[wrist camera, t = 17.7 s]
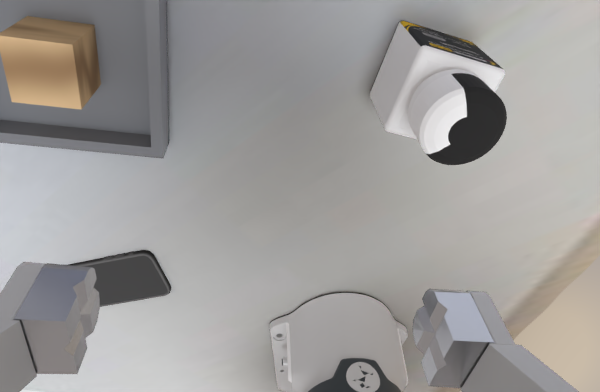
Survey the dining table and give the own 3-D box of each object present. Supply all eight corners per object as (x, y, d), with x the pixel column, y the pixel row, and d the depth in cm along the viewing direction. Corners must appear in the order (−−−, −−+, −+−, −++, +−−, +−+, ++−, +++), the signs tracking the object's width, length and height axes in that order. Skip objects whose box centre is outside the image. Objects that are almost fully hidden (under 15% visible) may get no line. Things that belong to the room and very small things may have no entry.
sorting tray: (168, 142, 43) (163, 158, 41) (-12, 123, 41) (-29, 139, 39) (165, -44, 34) (157, -37, 32) (-67, -79, 32) (-94, -75, 30)
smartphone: (25, 274, 52) (149, 251, 51) (28, 268, 53) (151, 246, 51) (58, 315, 56) (173, 295, 55) (61, 309, 57) (174, 289, 56)
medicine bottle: (473, 42, 39) (540, 99, 30) (436, 114, 43) (485, 185, 34) (399, 18, 38) (444, 70, 28) (367, 95, 42) (397, 165, 32)
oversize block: (101, 84, 39) (81, 109, 35) (38, 77, 38) (11, 101, 34) (94, 24, 36) (72, 44, 32) (27, 15, 35) (-4, 35, 31)
